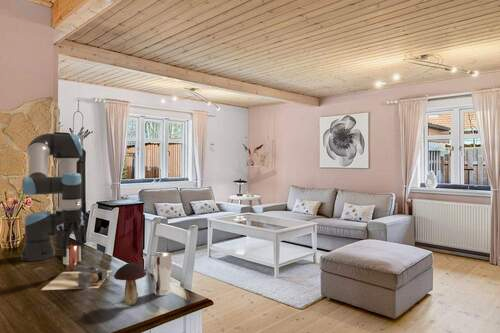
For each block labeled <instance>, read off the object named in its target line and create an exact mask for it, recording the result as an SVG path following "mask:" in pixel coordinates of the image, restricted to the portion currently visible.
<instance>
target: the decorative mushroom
mask: <svg viewBox="0 0 500 333" xmlns="http://www.w3.org/2000/svg"><path fill="white" fill-rule="evenodd" d="M147 275H148V273H147V271H146V270H145V268H143V267H142V266H141V265H140V264H138V263H135V262H127V263H126V264H123V265H122V266H121V267H119V268H118V269H117V270H116V271H115V273H114V275H113V278H114V279H115V280H118V281H119V280H120V281H125V286H124V296H123V298H124V303H125V305H127V306H133V305H135V304H136V303H137V300H138V288H137V287H138V286H137V282H136V280H139V279H142V278H144V277H146V276H147Z"/></svg>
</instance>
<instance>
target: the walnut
mask: <svg viewBox="0 0 500 333" xmlns="http://www.w3.org/2000/svg"><path fill="white" fill-rule="evenodd" d="M98 279H99V276H98V275H97V274H96V273H92V283H96V282H97V281H98Z"/></svg>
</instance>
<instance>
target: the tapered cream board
mask: <svg viewBox="0 0 500 333" xmlns="http://www.w3.org/2000/svg"><path fill="white" fill-rule="evenodd" d="M112 272H113V269H112V270H108V269H107V278H108V277H109V276H110V275H111V273H112ZM105 280H106V279H103V280H100V279H98V281H97V282H96V283H92V273H88V272H79V271H63V272H61V273H59V274H58V276H56V277H55V278H54V279H52V280H51V281H49V283H47V284H46V285H45V286H44V287H42V288H41V289H40V291H51V290H52V291H55V290H56V291H57V290H58V291H59V290H79V289H99V288H100V286H101V285H102V284H103V283H104V282H105Z"/></svg>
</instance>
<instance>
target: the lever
mask: <svg viewBox="0 0 500 333" xmlns="http://www.w3.org/2000/svg"><path fill="white" fill-rule="evenodd" d="M67 249H69V264H68V265H66V271H68V272H71V271H73V272H88V273H96V274H97V275H98V276H99V279H100V280H103V279H105V280H106V279H108V277H107V271H108V269H107V268H100V267H99V266H86V265H81V264H78V261H77V244H70V245H69V244H68V246H67Z"/></svg>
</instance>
